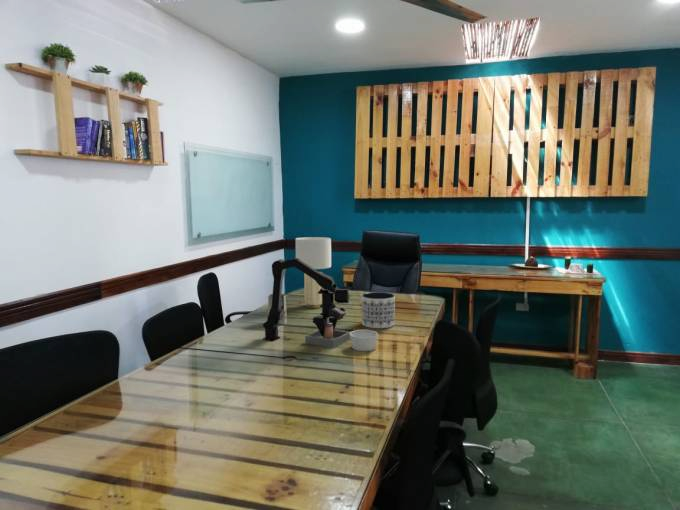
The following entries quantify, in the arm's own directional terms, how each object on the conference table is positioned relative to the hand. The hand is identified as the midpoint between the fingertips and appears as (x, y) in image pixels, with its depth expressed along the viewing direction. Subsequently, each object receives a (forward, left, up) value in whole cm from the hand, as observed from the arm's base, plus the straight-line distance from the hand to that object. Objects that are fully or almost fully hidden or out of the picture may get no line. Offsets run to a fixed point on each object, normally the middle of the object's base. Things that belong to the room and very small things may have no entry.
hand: (328, 333), depth 229 cm
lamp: (+61, +48, -4) cm, 78 cm away
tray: (0, 0, -4) cm, 4 cm away
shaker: (0, 0, -3) cm, 3 cm away
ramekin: (-1, -20, -4) cm, 20 cm away
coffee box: (+16, +43, -4) cm, 46 cm away
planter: (+40, -8, -4) cm, 41 cm away
